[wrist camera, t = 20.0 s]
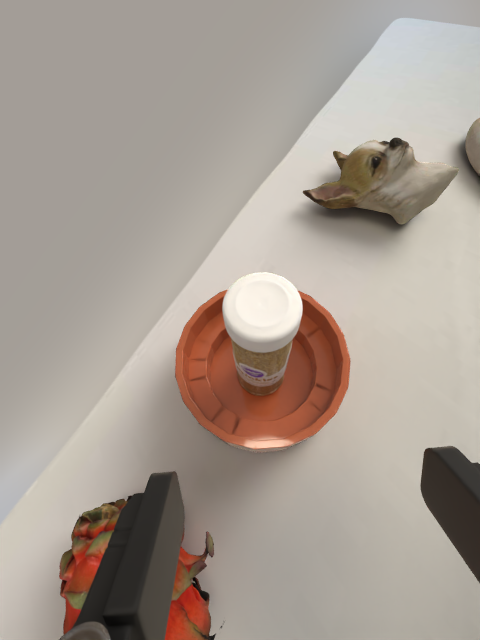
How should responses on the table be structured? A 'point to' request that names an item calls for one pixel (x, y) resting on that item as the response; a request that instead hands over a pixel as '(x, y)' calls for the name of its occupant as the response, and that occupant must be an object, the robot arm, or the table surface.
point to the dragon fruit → (85, 556)
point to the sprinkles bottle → (262, 328)
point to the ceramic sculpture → (384, 180)
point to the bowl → (270, 410)
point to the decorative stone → (474, 145)
